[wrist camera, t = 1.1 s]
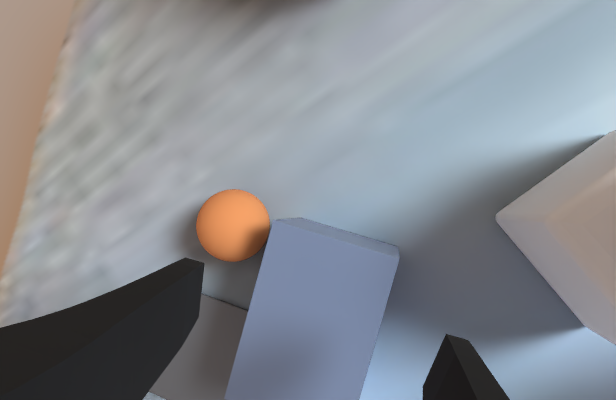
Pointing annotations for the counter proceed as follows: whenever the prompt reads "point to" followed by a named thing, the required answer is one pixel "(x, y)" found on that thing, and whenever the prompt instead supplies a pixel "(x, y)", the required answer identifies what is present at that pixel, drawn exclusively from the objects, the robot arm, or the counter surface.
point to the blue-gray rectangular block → (313, 314)
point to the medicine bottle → (574, 233)
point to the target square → (204, 354)
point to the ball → (233, 225)
